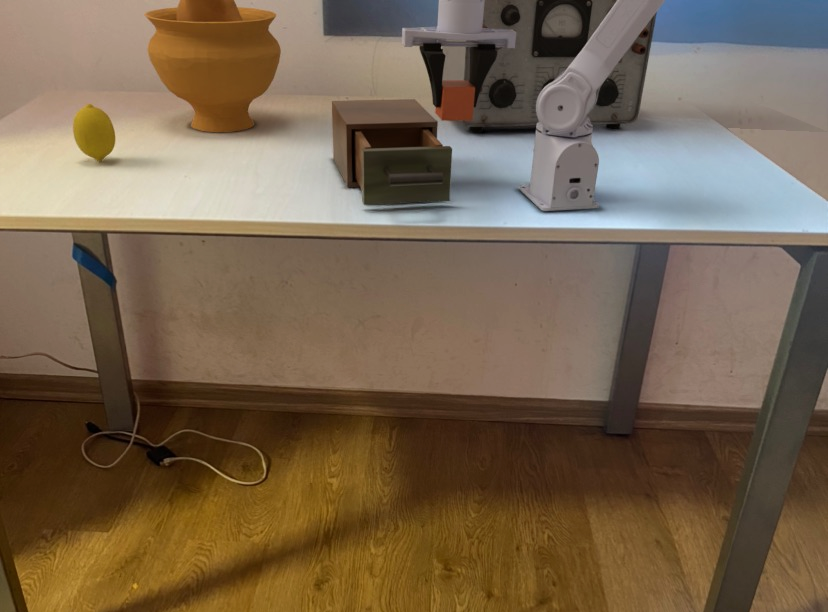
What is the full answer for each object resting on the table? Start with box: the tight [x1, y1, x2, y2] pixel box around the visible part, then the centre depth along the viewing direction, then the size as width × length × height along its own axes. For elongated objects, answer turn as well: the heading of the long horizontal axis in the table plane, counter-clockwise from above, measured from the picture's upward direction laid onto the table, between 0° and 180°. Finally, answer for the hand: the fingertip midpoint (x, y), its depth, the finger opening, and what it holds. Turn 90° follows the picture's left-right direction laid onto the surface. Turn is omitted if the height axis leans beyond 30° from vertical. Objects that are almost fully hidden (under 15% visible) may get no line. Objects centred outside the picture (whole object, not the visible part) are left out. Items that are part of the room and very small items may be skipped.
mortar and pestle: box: [144, 0, 282, 133], centre depth 127 cm, size 21×21×30 cm
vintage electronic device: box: [441, 0, 658, 134], centre depth 135 cm, size 32×18×25 cm, turn 101°
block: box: [434, 80, 475, 122], centre depth 105 cm, size 4×4×4 cm
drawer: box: [352, 127, 453, 206], centre depth 103 cm, size 18×11×7 cm, turn 13°
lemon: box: [72, 103, 116, 163], centre depth 113 cm, size 6×6×8 cm
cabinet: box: [331, 98, 439, 188], centre depth 113 cm, size 14×12×8 cm
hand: (454, 105), depth 106 cm, fingers closed on block, 4 cm apart
